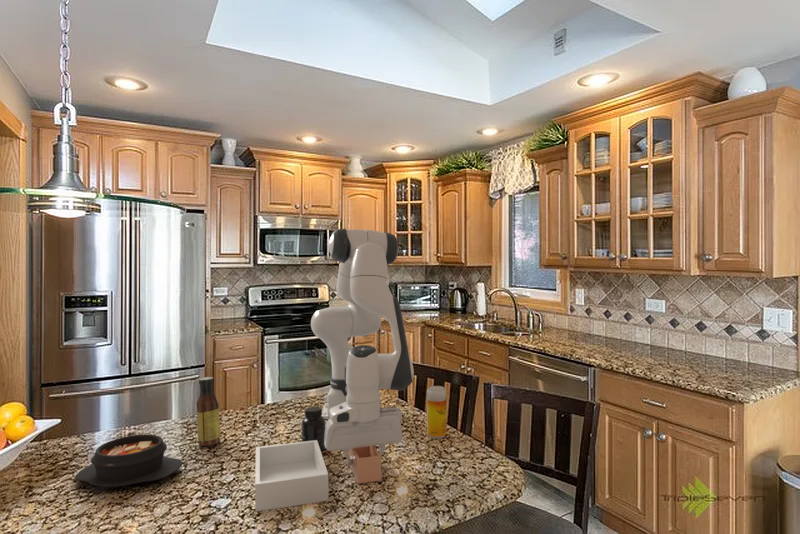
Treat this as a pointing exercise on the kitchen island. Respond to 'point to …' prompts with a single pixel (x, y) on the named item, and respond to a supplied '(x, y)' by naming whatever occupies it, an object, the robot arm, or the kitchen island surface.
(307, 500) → the grey crate
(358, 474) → the terracotta crate
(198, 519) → the kitchen island surface
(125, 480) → the casserole
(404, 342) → the robot arm
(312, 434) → the supplement bottle
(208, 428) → the sauce bottle
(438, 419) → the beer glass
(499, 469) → the kitchen island surface
